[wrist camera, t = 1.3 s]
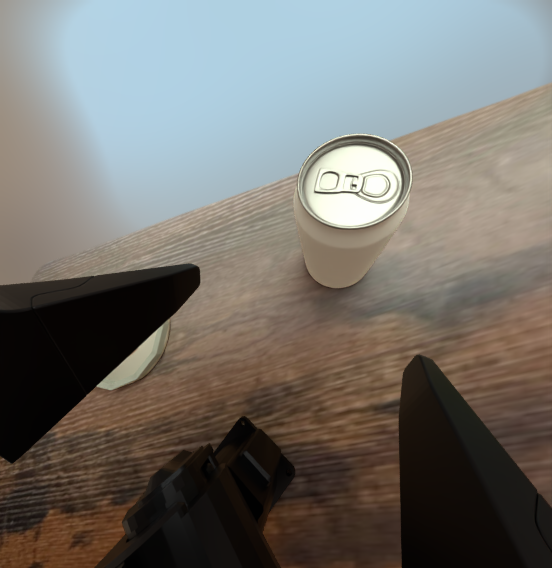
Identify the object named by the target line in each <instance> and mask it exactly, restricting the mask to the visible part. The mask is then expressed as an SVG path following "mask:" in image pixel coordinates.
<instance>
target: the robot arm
mask: <svg viewBox="0 0 552 568" xmlns="http://www.w3.org/2000/svg"><path fill="white" fill-rule="evenodd" d="M199 285H200V269H199V267H198V266H196V265H194V264H182V265H174V266H166V267H158V268H151V269H143V270H135V271H127V272H120V273H112V274H104V275H97V276H95V277H94V276H89V277H81V278H72V279H64V280H54V281H44V282H32V283H21V284H11V285H0V456H1V457H2V458H4V459H5V460H7V461H8V462H9V463H11V464H12V463H14V462H15V461H16V460H18V459H19V458H20V457H21V456H22V455H23V454H24V453H26V452H27V451H28V450H29V449H30V448H31V447H32V446H33V445H34V444H35V443H36V442H37V441H38V440H39V439H41V438H42V437H43V436H44V435H45V434H46V433H47V432H48V431H49V430H50V429H51V428H52V427H53V426H55V425H56V424H57V423H58V422H59V421H60V420H61V419H62V418H63V417H64V416H65V415H66V414H67V413H68V412H70V411H71V410H72V409H73V408H74V407H75V406H76V405H77V404H78V403H79V402H80V401H81V400H82V399H84V398H85V397H86V395H87V394H89V393H90V392H91V391H92V390H93V389H94V388H95V387H96V386H97V385H98V384H99V383H101V382H102V381H103V380H104V379H105V378H106V377H107V376H108V375H109V374H110V373H111V372H112V371H113V370H114V369H116V368H117V367H118V366H119V365H120V364H121V363H122V362H123V361H124V360H125V359H126V358H127V357H128V356H130V355H131V354H132V353H133V352H134V351H135V350H136V349H137V348H138V347H139V346H140V345H141V344H142V343H144V342H145V341H146V340H147V339H148V338H149V337H150V336H151V335H152V334H153V333H154V332H155V331H156V330H157V329H159V328H160V327H161V326H162V325H163V324H164V323H165V322H166V321H167V320H168V319H169V318H170V317H171V316H173V315H174V314H175V313H176V312H177V311H178V310H179V309H180V307H181V306H182V305H183V304H184V303H185V302H186V301H187V300H188V298H189V297H190V296H191V295H192V294H193V293H194V292H195V290H196V289H197V288H198V287H199ZM241 421H244V422H245V425H242V423H241ZM212 451H213V448H212V447H211V445H210V443H209V444H207V445H206V446H205V447H204V448H203V447H202V446H201V447H199V448H198V449H197V450H196V451H194V452H193V453H192V452H189V451H185V450H183V451H182V452H180V453H179V454H178V455H177V456H176V457H174V458H173V459H172V460H171V461H169V462H168V463H167V464H166V465H165V466H163V467H162V468H161V469H160V470H159V471H157V472H156V473H155V474H154V475H153V476H152V477H151V478H150V481H149V483H148V486H147V489H146V491H145V493H144V494H143V495H142V496H141V497H140V499H139V500H138V501H137V502H136V504H135V505H134V506H133V507H132V508H131V509H129V510H128V512H127V514H126V515H125V517H124V519H123V521H122V525H123V527H124V530H125V533H126V534H125V535H124V536H123V538H122V539H121V540H120V541H119V542H118V543H117V544H116V545H115V546H114V547H113V548H112V549H111V550H110V552H109V553H108V554H107V555H106V556H105V557H104V558H103V559H102V560H101V561H100V562H99V563H98V565H97V566H96V567H95V568H281V567H280V566H279V564H278V562H277V560H276V558H275V556H274V554H273V552H272V550H271V548H270V546H269V545H268V543H267V541H266V539H265V537H264V535H263V530H264V526H265V523H266V520H267V516H268V513H269V512H270V510H271V509H272V507H273V506H274V505H275V503H276V502H277V500H278V499H279V498H280V496H281V495H282V493H283V492H284V490H285V489H286V488H287V486H288V485H289V483H290V482H291V481H292V479H293V478H294V475H295V468H294V466H293V465H292V464H291V463H290V462H289V461H288V460H287V459H286V458H285V457H284V456H283V455H282V453H281V449H280V448H279V447H278V446H277V445H276V444H275V443H274V442H273V441H272V440H271V439H270V438H269V437H268V436H267V435H266V434H265V433H264V432H263V431H262V430H261V429H257V428H256V427H255V426H254V425H253V423H252V422H251V421H250V420H249V419H248V418H247V417H245V416H243V417H241V418H240V419H239V420H238V421H237V422H236V424H235V425H234V426H233V428H232V429H231V430H230V432H229V433H228V434H227V436H226V437H225V438H224V440H223V441H222V443H221V444H220V445H219V447H218V448H217V449H216V451H215V452H214V453H213V452H212ZM399 460H400V504H401V549H402V568H552V508H551V506H550V505H549V504H548V503H547V501H546V500H545V499H544V498H543V497H542V495H541V494H539V493H537V489H536V488H535V487H534V485H533V484H532V483H531V482H530V481H529V479H528V478H527V477H526V476H525V474H524V473H523V472H522V471H521V469H520V468H519V467H518V466H517V464H516V463H515V462H514V461H513V459H512V458H511V457H510V456H509V454H508V453H507V452H506V451H505V449H504V448H503V447H502V446H501V444H500V443H499V442H498V441H497V439H496V438H495V437H494V436H493V435H492V433H491V432H490V431H489V430H488V428H487V427H486V426H485V425H484V423H483V422H482V421H481V420H480V418H479V417H478V416H477V415H476V413H475V412H474V411H473V410H472V408H471V407H470V406H469V405H468V403H467V402H466V401H465V400H464V398H463V397H462V396H461V395H460V394H459V392H458V391H457V390H456V389H455V387H454V386H453V385H452V384H451V382H450V381H449V380H448V379H447V377H446V376H445V375H444V374H443V372H442V371H441V370H440V369H439V367H438V366H437V365H436V364H435V362H434V361H433V360H432V359H430V358H428V357H425V356H423V355H420V354H419V355H416V356H415V357H414V358H413V359H412V361H411V362H410V363H409V364H408V366H407V367H406V368H405V370H404V372H403V379H402V388H401V398H400V408H399ZM288 469H289V470H291V472H292V473H291V474H289V473H288V472H287V470H288Z"/></svg>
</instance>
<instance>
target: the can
mask: <svg viewBox="0 0 552 568" xmlns="http://www.w3.org/2000/svg"><path fill="white" fill-rule="evenodd" d="M412 179H413V176H412V169H411V165H410V162H409V160H408V158H407V157H406V155H405V154H404V152H403V151H402V150H401V149H400V148H399V147H398V146H396V145H395V144H394V143H392V142H390V141H389V140H387V139H384V138H382V137H379V136H375V135H370V134H349V135H344V136H340V137H337V138H334V139H332V140H330V141H328V142H326V143H324V144H323V145H321V146H319V147H318V148H317V149H315V150H314V151H313V152H312V153H311V154H310V155H309V156H308V158H307V159H306V160H305V162H304V163H303V165H302V167H301V169H300V172H299V175H298V179H297V187H296V190H295V194H294V201H293V205H294V215H295V220H296V225H297V229H298V234H299V238H300V243H301V247H302V251H303V256H304V260H305V264H306V267H307V270H308V272H309V273H310V275H311V276H312V277H313V278H314V279H315V280H316V281H317V282H318V283H320V284H322V285H324V286H327V287H331V288H344V287H348V286H351V285H353V284H355V283H357V282H358V281H359V280H360V279H362V278H363V277H364V275H365V274H366V273H367V272H368V270H369V269H370V267H371V266H372V265H373V263H374V262H375V260H376V259H377V258H378V256H379V255H380V253H381V252H382V250H383V249H384V248H385V246H386V245H387V243H388V242H389V240H390V239H391V237H392V236H393V235H394V233H395V232H396V230H397V229H398V227H399V225H400V224H401V222H402V220H403V218H404V216H405V214H406V212H407V209H408V204H409V193H410V190H411V187H412Z"/></svg>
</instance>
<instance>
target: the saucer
mask: <svg viewBox="0 0 552 568" xmlns="http://www.w3.org/2000/svg"><path fill="white" fill-rule="evenodd" d="M169 333H170V318H169V319H168V320H167V321H166V322H165V323H164V324H163V325H162V326H161V327H160V328H159V329H157V330H156V331H155V332H154V333H153V334H152V335H151V336H150V337H149V338H148V339H147V340H146V341H145V342H144V343H142V344H141V345H140V346H139V347H138V348H137V349H136V350H135V351H134V352H133V353H132V354H131V355H130V356H128V357H127V358H126V359H125V360H124V361H123V362H122V363H121V364H120V365H119V366H118V367H117V368H116V369H114V370H113V371H112V372H111V373H110V374H109V375H108V376H107V377H106V378H105V379H104V380H103V381H102V382H101V383H99V384H98V385H97V386H96V387H100V388H104V389H108V390H114V389H118V388H120V387H122V386H125V385H127V384H130V383H133V382H135V381H137V380H139V379H141V378H143V377H144V376H145V375H146V374H148V373H149V372H150V371H151V370H152V369H153V368H154V366H155V365H156V364H157V362H158V361H159V360H160V358H161V356H162V354H163V352H164V350H165V348H166V345H167V342H168V338H169Z"/></svg>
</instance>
